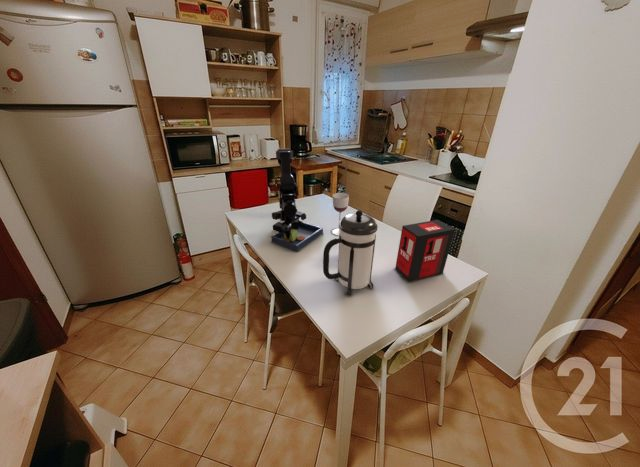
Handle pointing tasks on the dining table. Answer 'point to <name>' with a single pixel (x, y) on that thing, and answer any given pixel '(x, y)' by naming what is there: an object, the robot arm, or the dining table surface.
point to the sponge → (292, 235)
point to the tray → (303, 230)
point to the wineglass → (340, 206)
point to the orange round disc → (300, 238)
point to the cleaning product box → (423, 249)
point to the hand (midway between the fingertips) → (291, 237)
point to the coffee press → (353, 251)
